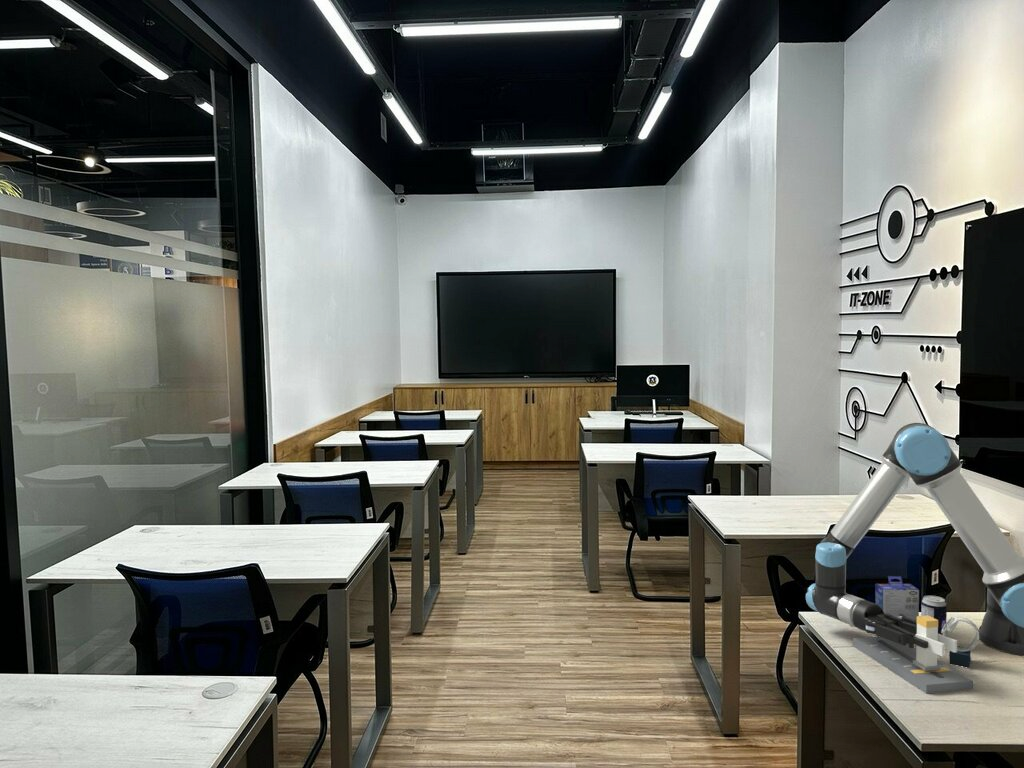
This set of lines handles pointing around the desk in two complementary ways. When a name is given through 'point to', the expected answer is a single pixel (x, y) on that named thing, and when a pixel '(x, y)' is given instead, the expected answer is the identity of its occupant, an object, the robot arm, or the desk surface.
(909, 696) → the desk surface
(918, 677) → the fader console
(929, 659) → the fader handle
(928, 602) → the beverage can
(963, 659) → the watch
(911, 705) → the desk surface
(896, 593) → the ink cartridge box
